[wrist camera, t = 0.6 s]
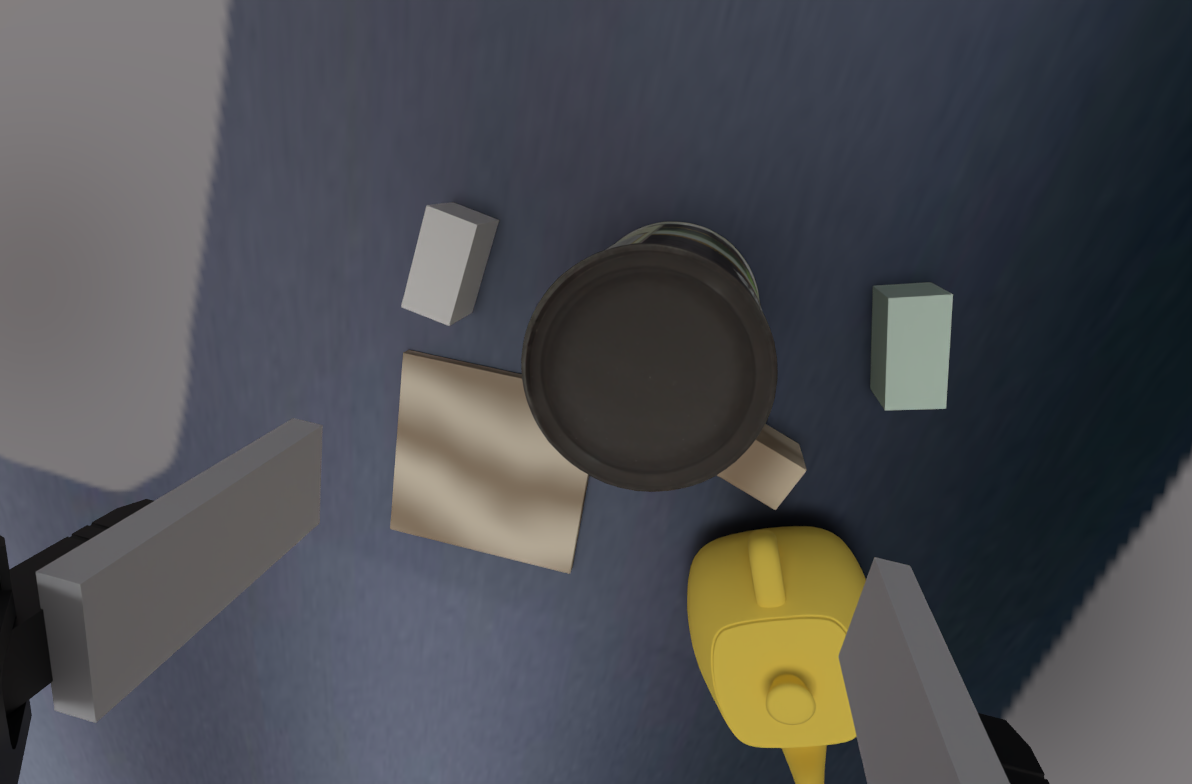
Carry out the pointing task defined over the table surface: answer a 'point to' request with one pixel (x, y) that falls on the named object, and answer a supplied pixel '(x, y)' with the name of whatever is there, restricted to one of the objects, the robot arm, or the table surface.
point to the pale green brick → (910, 345)
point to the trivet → (481, 466)
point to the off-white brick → (449, 262)
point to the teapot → (777, 638)
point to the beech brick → (768, 468)
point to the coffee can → (652, 360)
